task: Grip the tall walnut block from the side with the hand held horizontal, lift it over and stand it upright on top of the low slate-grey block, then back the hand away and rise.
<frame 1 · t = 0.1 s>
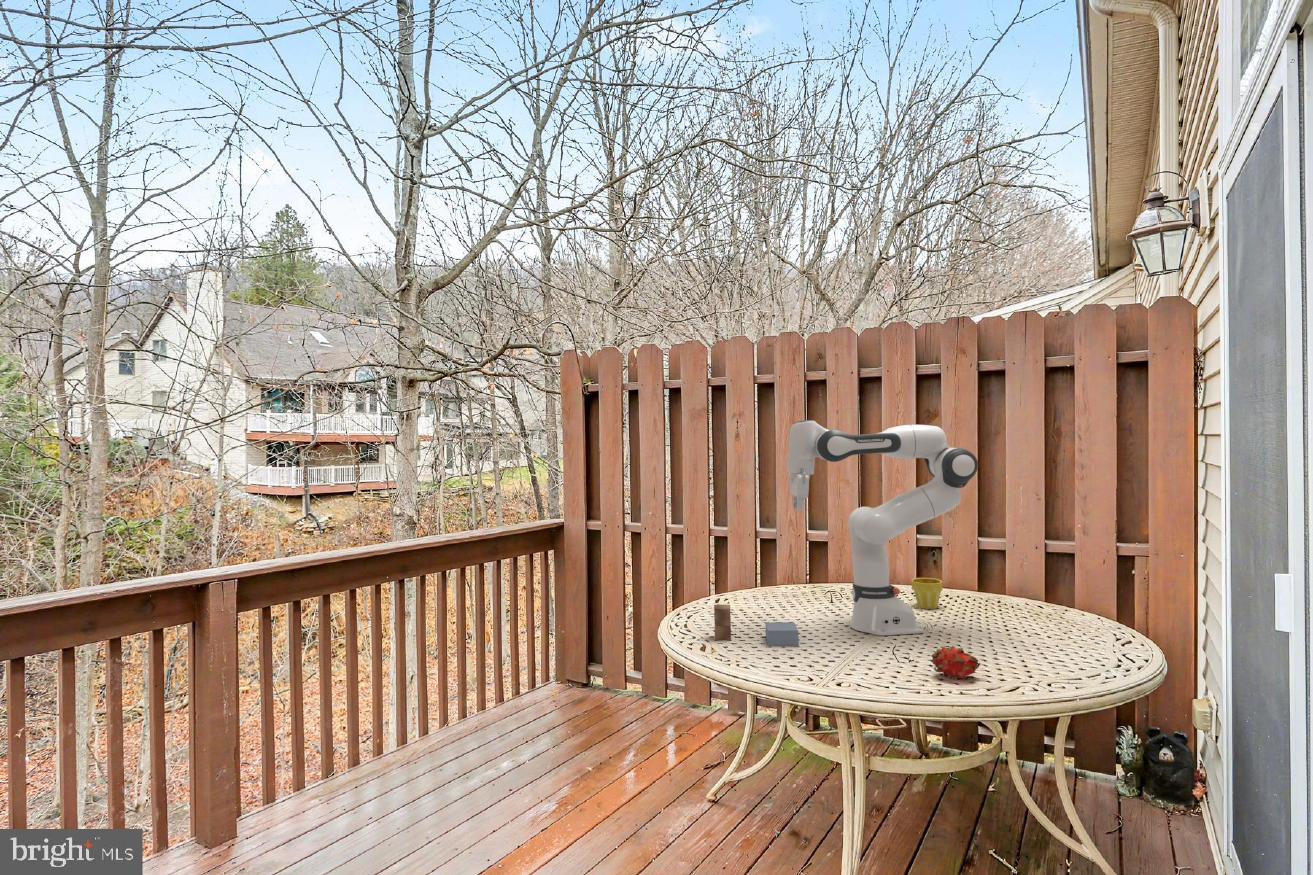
hand: (797, 510, 212), 39 cm above the table, tool pointing down, fingers open, 8 cm apart
slate block: (781, 642, 197), on the table
plant pot: (927, 607, 234), on the table
dragon fruit: (956, 677, 164), on the table
walnut block: (723, 638, 202), on the table
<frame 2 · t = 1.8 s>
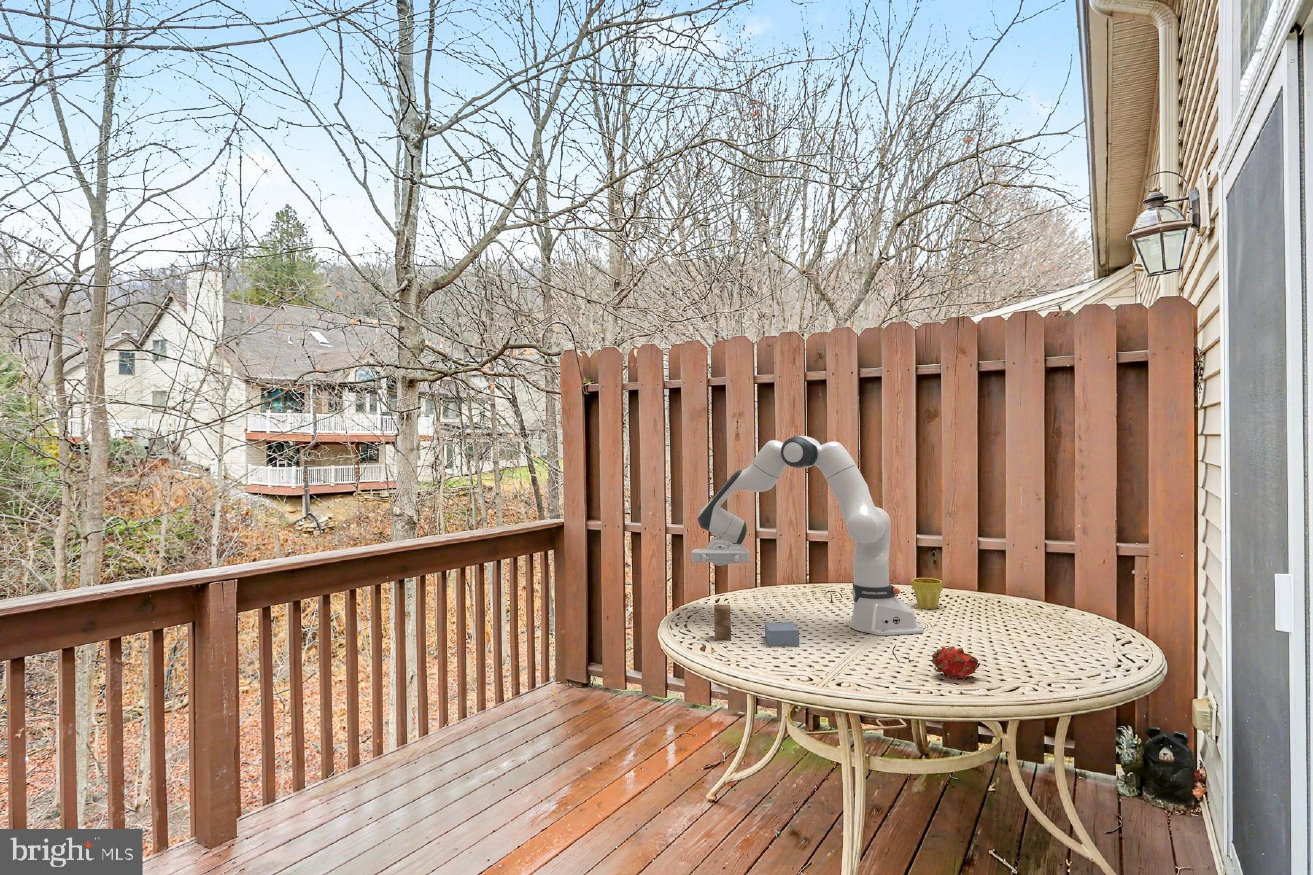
hand: (720, 559, 214), 23 cm above the table, tool horizontal, fingers open, 8 cm apart
nothing on the table moved.
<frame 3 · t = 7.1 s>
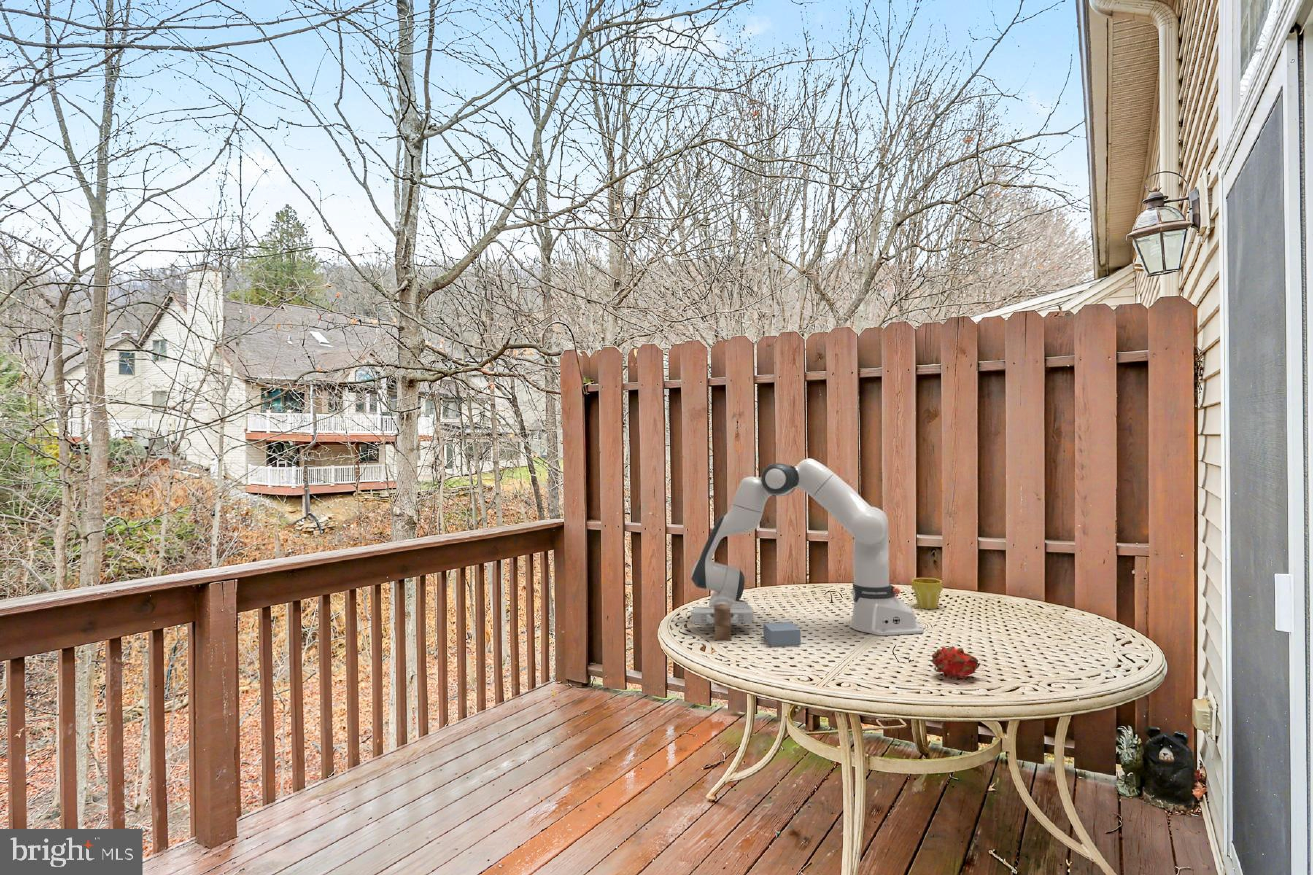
hand: (722, 621, 201), 6 cm above the table, tool horizontal, fingers closed on walnut block, 5 cm apart
walnut block: (722, 638, 202), on the table, touching gripper
everything else where it was.
when the fingers open (12 cm above the table, at t = 11.3 s): walnut block drops 2 cm, resting on slate block.
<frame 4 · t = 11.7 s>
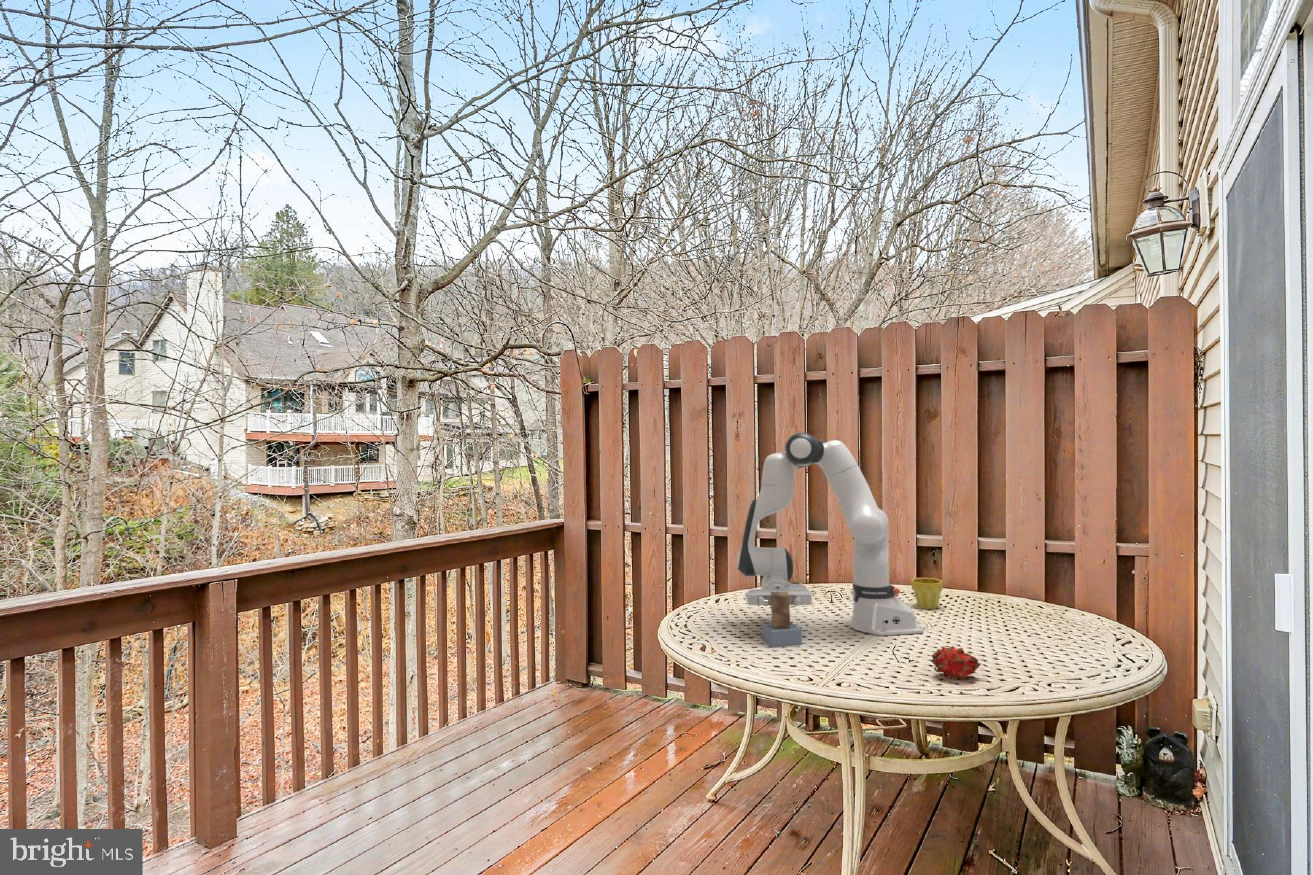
hand: (781, 603, 196), 12 cm above the table, tool horizontal, fingers open, 8 cm apart
slate block: (781, 642, 197), on the table, touching walnut block
walnut block: (780, 626, 197), point 5 cm above the table, touching slate block
everything else where it was.
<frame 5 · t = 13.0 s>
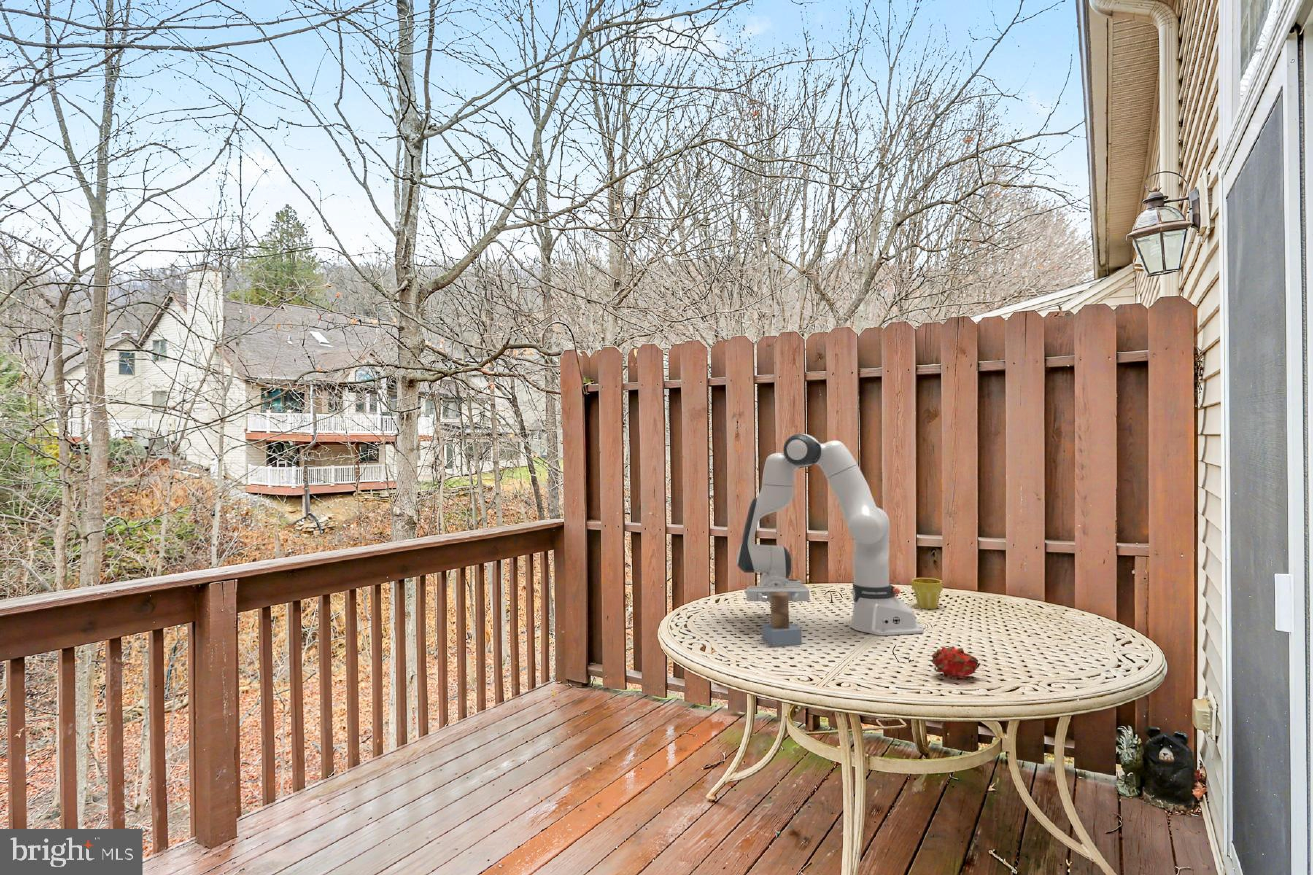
hand: (779, 599, 201), 12 cm above the table, tool horizontal, fingers open, 8 cm apart
nothing on the table moved.
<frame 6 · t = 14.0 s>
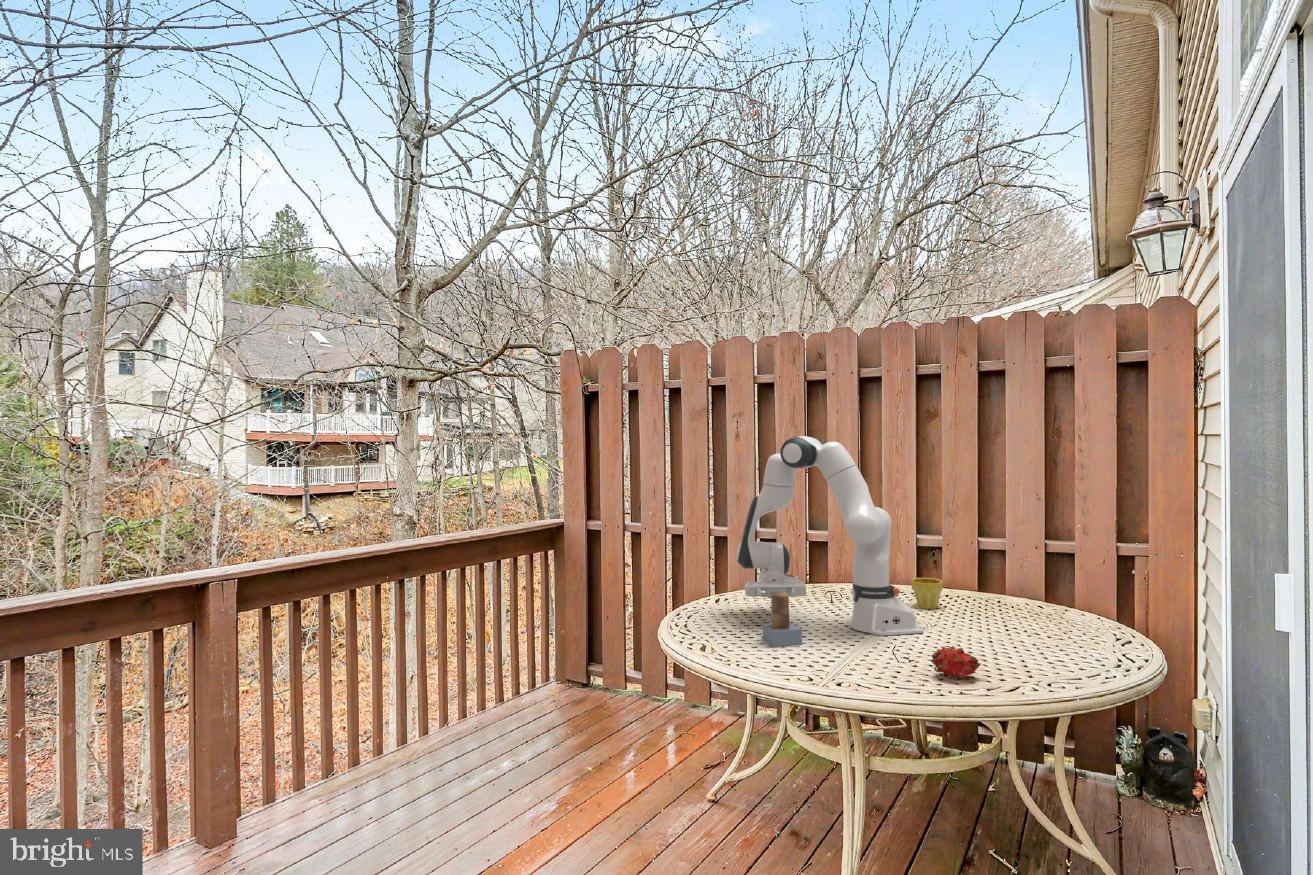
hand: (777, 594, 208), 12 cm above the table, tool horizontal, fingers open, 8 cm apart
nothing on the table moved.
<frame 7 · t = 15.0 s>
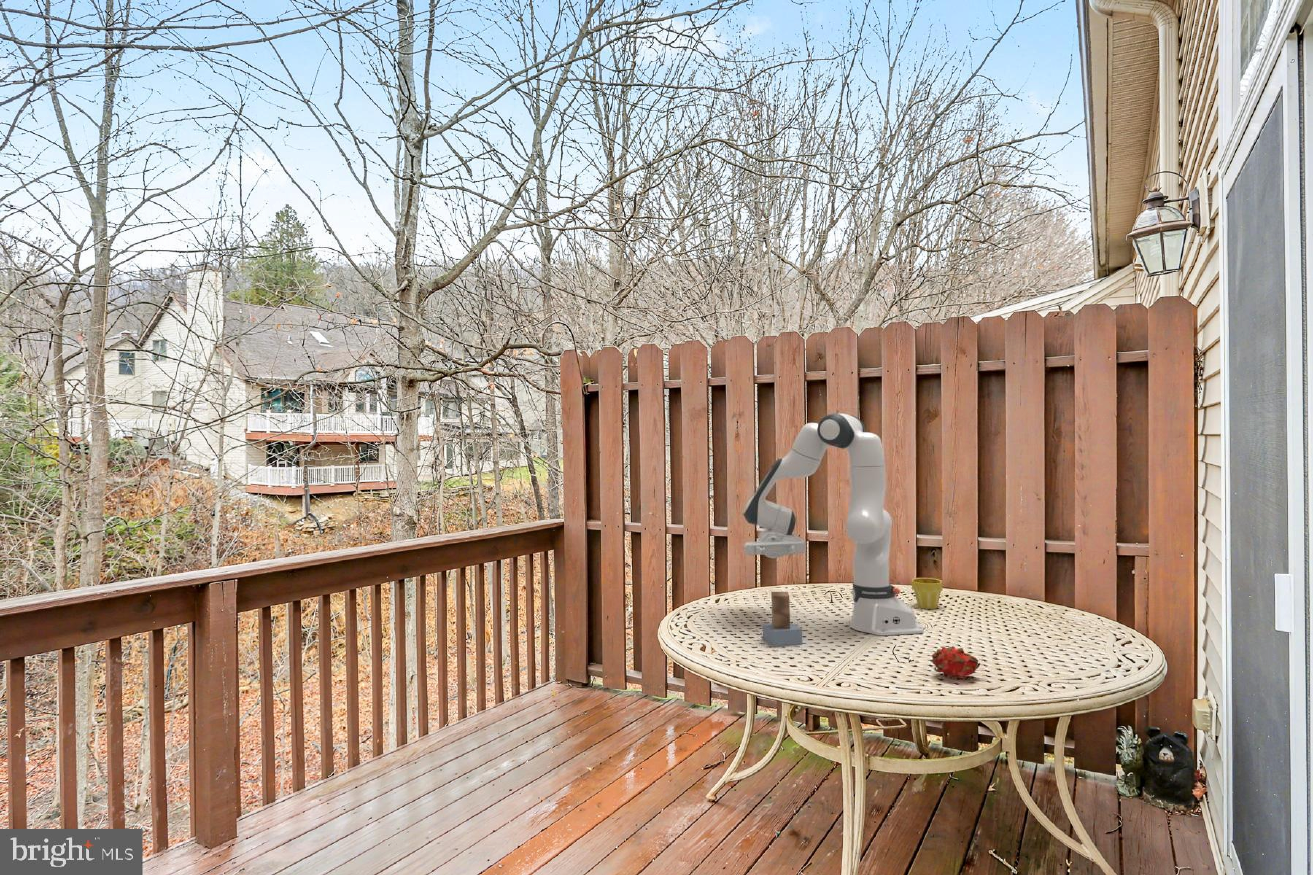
hand: (776, 550, 208), 26 cm above the table, tool horizontal, fingers open, 8 cm apart
slate block: (782, 642, 197), on the table
walnut block: (781, 625, 197), point 5 cm above the table
everything else where it was.
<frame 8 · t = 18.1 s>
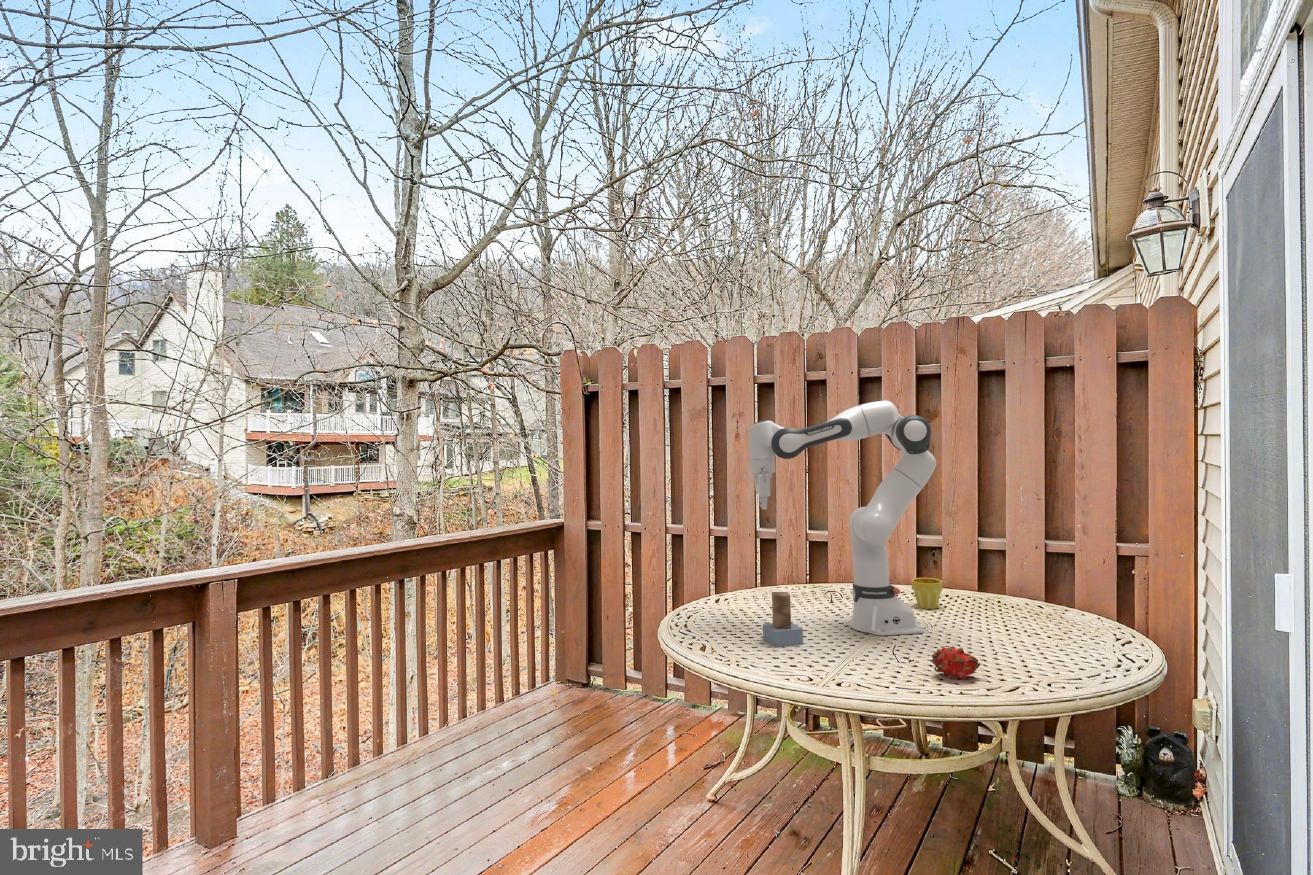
hand: (763, 508, 219), 39 cm above the table, tool pointing down, fingers open, 8 cm apart
nothing on the table moved.
at the end: walnut block 0.1 cm off-centre on the slate block, point 5.0 cm above the slate block's base; walnut block tilted 0°; the gripper is holding nothing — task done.
